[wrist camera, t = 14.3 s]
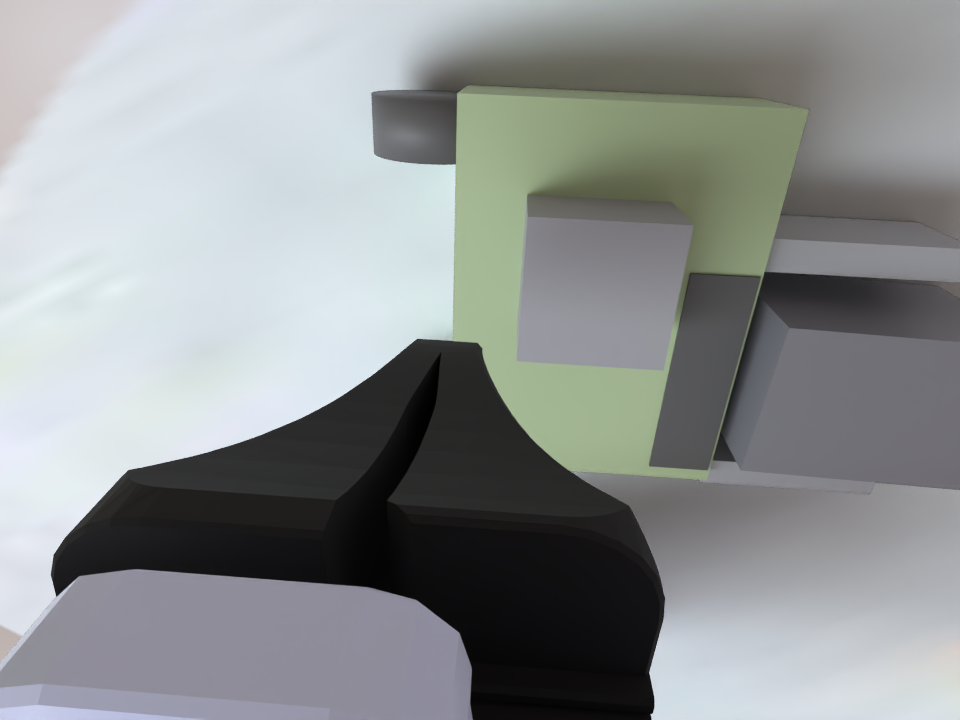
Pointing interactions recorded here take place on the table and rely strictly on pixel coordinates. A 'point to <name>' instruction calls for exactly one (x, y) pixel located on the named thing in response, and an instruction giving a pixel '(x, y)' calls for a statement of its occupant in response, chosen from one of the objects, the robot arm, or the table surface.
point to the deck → (611, 161)
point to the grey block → (849, 382)
